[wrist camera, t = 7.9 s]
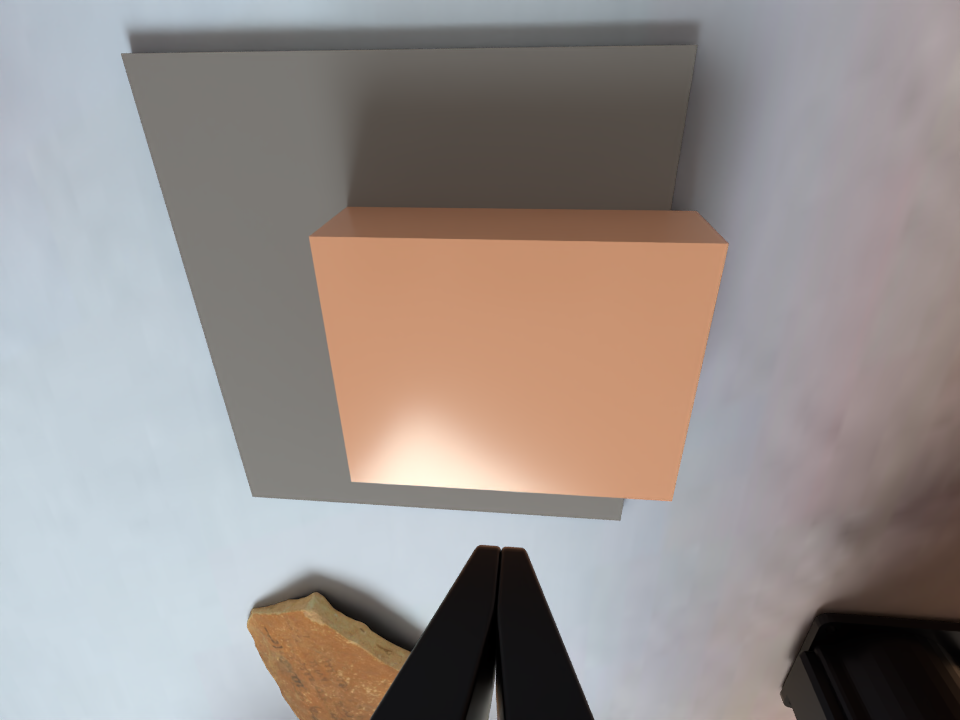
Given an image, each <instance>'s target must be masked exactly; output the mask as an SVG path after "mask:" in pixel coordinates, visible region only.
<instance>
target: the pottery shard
mask: <svg viewBox="0 0 960 720" xmlns="http://www.w3.org/2000/svg"><path fill="white" fill-rule="evenodd" d="M247 628H248V630H249V632H250V634H251V635H252V637H253V639H254V641H255V646H256V648H257V650H258V652H259V654H260V656H261V658H262V660H263V662H264V664H265V666H266V668H267V670H268V671H269V672H270V674H271V675H272V677H273V678H274V679H275V681H276V682H277V684H278V686H279V688H280V690H281V693H282V696H283V697H284V699H285V700H286V701H287V703H288V704H289V706H290V707H291V709H292V710H293V712H294V713H295V714H296V716H297V717H298V718H299V719H300V720H370V718H371V716H372V715H373V713H374V711H375V710H376V708H377V706H378V705H379V703H380V702H381V700H382V698H383V697H384V695H385V694H386V692H387V690H388V689H389V687H390V685H391V684H392V682H393V681H394V679H395V677H396V676H397V674H398V673H399V671H400V669H401V668H402V666H403V665H404V663H405V661H406V660H407V658H408V656H409V655H410V653H411V652H410V651H408V650H405V649H403V648H401V647H399V646H396V645H395V644H393V643H391V642H389V641H387V640H385V639H384V638H382V637H381V636H379V635H378V634H376V633H374V632H373V631H371V630H370V629H369V627H368V626H367V625H366V624H364V623H362V622H359V621H356V620H354V619H352V618H349V617H347V616H345V615H344V614H343V613H341V612H339V611H337V610H336V609H334V608H333V607H332V606H331V605H330V603H329V602H328V601H327V600H326V598H325V597H324V596H322V595H321V594H319V593H318V592H315V593H312V594H311V595H309V596H307V597H305V598H300V599H294V600H293V599H288V600H286V601H283V602H280V603H277V604H275V605H270V606H267V607H260V608H253V609H252V611H251V615H250V616H249V619H248V621H247Z"/></svg>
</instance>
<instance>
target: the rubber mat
mask: <svg viewBox="0 0 960 720" xmlns="http://www.w3.org/2000/svg"><path fill="white" fill-rule="evenodd" d="M696 51H697V45H644V46H579V47H514V48H448V49H383V50H318V51H252V52H187V53H122V54H121V56H122V59H123V63H124V66H125V69H126V73H127V76H128V79H129V83H130V86H131V89H132V93H133V96H134V100H135V103H136V106H137V110H138V113H139V116H140V120H141V123H142V126H143V130H144V133H145V136H146V140H147V143H148V147H149V150H150V153H151V157H152V160H153V163H154V167H155V170H156V173H157V177H158V180H159V184H160V187H161V190H162V194H163V197H164V200H165V204H166V207H167V210H168V214H169V217H170V221H171V224H172V227H173V231H174V234H175V237H176V241H177V244H178V247H179V251H180V254H181V257H182V261H183V264H184V268H185V271H186V274H187V278H188V281H189V284H190V288H191V291H192V294H193V298H194V301H195V305H196V308H197V311H198V315H199V318H200V321H201V325H202V328H203V331H204V335H205V338H206V341H207V345H208V348H209V352H210V355H211V358H212V362H213V365H214V368H215V372H216V375H217V378H218V382H219V385H220V389H221V392H222V395H223V399H224V402H225V405H226V409H227V412H228V415H229V419H230V422H231V426H232V429H233V432H234V436H235V439H236V442H237V446H238V449H239V452H240V456H241V459H242V462H243V466H244V469H245V473H246V476H247V479H248V483H249V486H250V489H251V493H252V496H253V497H265V498H281V499H296V500H311V501H327V502H342V503H357V504H373V505H388V506H404V507H419V508H434V509H450V510H465V511H480V512H496V513H511V514H526V515H542V516H557V517H572V518H588V519H603V520H618V521H620V520H621V514H622V508H623V501H624V498H611V497H595V496H578V495H562V494H546V493H529V492H513V491H496V490H480V489H463V488H447V487H430V486H414V485H398V484H381V483H365V482H351V477H350V471H349V465H348V460H347V454H346V448H345V442H344V436H343V431H342V425H341V419H340V413H339V408H338V402H337V396H336V390H335V384H334V379H333V373H332V367H331V361H330V356H329V350H328V344H327V338H326V332H325V327H324V321H323V315H322V309H321V304H320V298H319V292H318V286H317V281H316V275H315V269H314V263H313V257H312V252H311V246H310V240H309V236H310V235H311V234H313V233H314V232H315V231H317V230H318V229H319V228H320V227H322V226H323V225H324V224H326V223H327V222H328V221H329V220H331V219H332V218H333V217H334V216H336V215H337V214H338V213H340V212H341V211H342V210H343V209H345V208H346V207H411V208H496V209H581V210H665V211H671V205H672V199H673V193H674V187H675V180H676V174H677V168H678V162H679V156H680V150H681V143H682V137H683V131H684V125H685V119H686V113H687V106H688V100H689V94H690V88H691V82H692V76H693V69H694V63H695V57H696Z"/></svg>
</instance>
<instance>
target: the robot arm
mask: <svg viewBox="0 0 960 720" xmlns="http://www.w3.org/2000/svg"><path fill="white" fill-rule="evenodd" d="M495 671H496V702H497V720H594V718H593V715H592V713H591V710H590V708H589V705H588V703H587V700H586V698H585V695H584V693H583V690H582V688H581V685H580V683H579V680H578V678H577V675H576V673H575V670H574V668H573V666H572V663H571V661H570V658H569V656H568V653H567V651H566V648H565V646H564V643H563V641H562V638H561V636H560V633H559V631H558V628H557V626H556V623H555V621H554V618H553V616H552V613H551V611H550V608H549V606H548V603H547V601H546V598H545V596H544V594H543V591H542V589H541V586H540V584H539V581H538V579H537V576H536V574H535V571H534V569H533V566H532V564H531V561H530V559H529V556H528V554H527V552H526V550H525V549H524V548H517V547H504V548H502V550H501V549H500V548H499V547H498V546H488V545H479V546H477V548H476V549H475V550H474V552H473V553H472V555H471V556H470V558H469V560H468V561H467V563H466V565H465V566H464V568H463V569H462V571H461V573H460V574H459V576H458V577H457V579H456V581H455V582H454V584H453V586H452V587H451V589H450V590H449V592H448V594H447V595H446V597H445V598H444V600H443V602H442V603H441V605H440V606H439V608H438V610H437V611H436V613H435V615H434V616H433V618H432V619H431V621H430V623H429V624H428V626H427V627H426V629H425V631H424V632H423V634H422V635H421V637H420V639H419V640H418V642H417V644H416V645H415V647H414V648H413V650H412V652H411V653H410V655H409V656H408V658H407V660H406V661H405V663H404V665H403V666H402V668H401V669H400V671H399V673H398V674H397V676H396V677H395V679H394V681H393V682H392V684H391V685H390V687H389V689H388V690H387V692H386V694H385V695H384V697H383V698H382V700H381V702H380V703H379V705H378V706H377V708H376V710H375V711H374V713H373V715H372V716H371V718H370V720H488V718H489V713H490V707H491V701H492V695H493V688H494V682H495ZM780 695H781V698H782V701H783V703H784V705H785V706H787V707H790V708H792V709H793V711H794V714H795V716H796V719H797V720H960V623H951V622H938V621H925V620H912V619H900V618H887V617H874V616H861V615H848V614H835V613H825V614H821V615H819V616H817V617H816V619H815V620H814V622H813V624H812V626H811V628H810V631H809V633H808V635H807V637H806V639H805V641H804V643H803V645H802V648H801V650H800V652H799V654H798V656H797V658H796V660H795V663H794V665H793V667H792V669H791V671H790V673H789V675H788V677H787V680H786V682H785V684H784V686H783V688H782V690H781V692H780Z"/></svg>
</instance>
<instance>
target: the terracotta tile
mask: <svg viewBox="0 0 960 720" xmlns="http://www.w3.org/2000/svg"><path fill="white" fill-rule="evenodd" d="M309 240H310V246H311V252H312V257H313V263H314V269H315V275H316V281H317V286H318V292H319V298H320V304H321V309H322V315H323V321H324V327H325V332H326V338H327V344H328V350H329V356H330V361H331V367H332V373H333V379H334V384H335V390H336V396H337V402H338V408H339V413H340V419H341V425H342V431H343V436H344V442H345V448H346V454H347V460H348V465H349V471H350V477H351V482H365V483H381V484H398V485H414V486H430V487H447V488H463V489H480V490H496V491H513V492H529V493H546V494H562V495H578V496H595V497H611V498H628V499H644V500H661V501H672V498H673V494H674V489H675V485H676V480H677V476H678V471H679V467H680V462H681V458H682V453H683V449H684V444H685V439H686V435H687V430H688V426H689V421H690V417H691V412H692V408H693V403H694V399H695V394H696V390H697V385H698V381H699V376H700V372H701V367H702V363H703V358H704V354H705V349H706V345H707V340H708V335H709V331H710V326H711V322H712V317H713V313H714V308H715V304H716V299H717V295H718V290H719V286H720V281H721V277H722V272H723V268H724V263H725V259H726V254H727V250H728V245H729V243H728V242H727V241H726V240H725V239H724V238H723V237H722V236H721V235H720V234H719V233H718V232H717V231H716V230H715V229H714V228H713V227H712V226H711V225H710V224H709V223H708V222H707V221H706V220H705V219H704V218H703V217H702V216H701V215H700V214H699V213H698V212H697V211H665V210H581V209H496V208H411V207H346V208H345V209H343V210H342V211H341V212H340V213H338V214H337V215H336V216H334V217H333V218H332V219H331V220H329V221H328V222H327V223H326V224H324V225H323V226H322V227H320V228H319V229H318V230H317V231H315V232H314V233H313V234H311V235H310V236H309Z"/></svg>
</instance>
